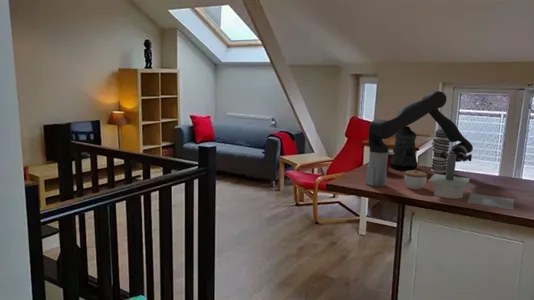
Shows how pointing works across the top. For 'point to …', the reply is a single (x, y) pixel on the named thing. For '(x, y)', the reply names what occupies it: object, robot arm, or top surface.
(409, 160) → the beer stein
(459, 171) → the top surface
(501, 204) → the mat
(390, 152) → the plastic cup
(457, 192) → the bowl
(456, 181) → the lid
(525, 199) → the top surface
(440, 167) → the decorative candle
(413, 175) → the lidded jar
